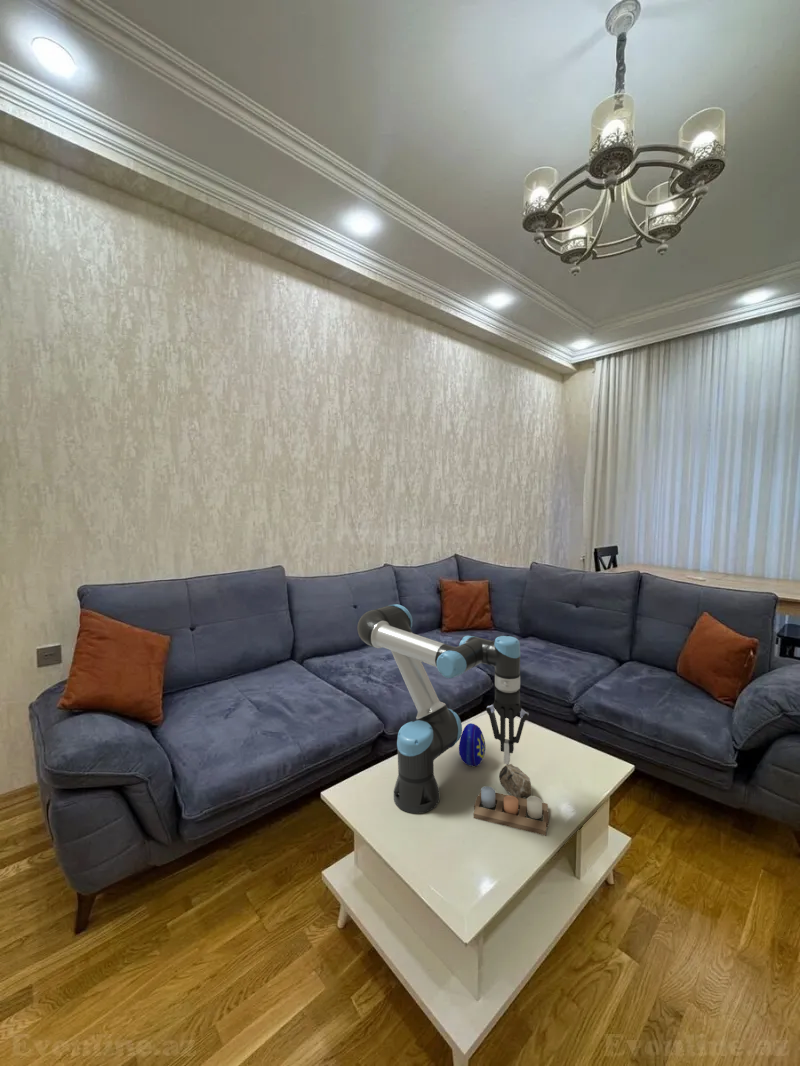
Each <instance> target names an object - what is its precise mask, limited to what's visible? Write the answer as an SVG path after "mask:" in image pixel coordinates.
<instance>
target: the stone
mask: <svg viewBox="0 0 800 1066" xmlns="http://www.w3.org/2000/svg"><path fill="white" fill-rule="evenodd" d="M499 783H500V785H501V786H502V788H504V790H505V791H506V792H507V793H508V794H509V795H511V796H515V797H519V798H524V799H527V798H528V797H530V796H532V794H533V792H532V785H531V784H532V783H531V779H530V777H529V776H528V775H527V774H526V772H523V770H521V769H520V768H519V767H518V766H515V765H513V764H512V763H509V765H508V764H505V765H504V766H503V767H502V768H501V770H500V772H499Z"/></svg>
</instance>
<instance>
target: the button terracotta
mask: <svg viewBox="0 0 800 1066" xmlns="http://www.w3.org/2000/svg"><path fill="white" fill-rule="evenodd" d="M507 795H508V796H505V797H504V808H503V812H504V813H508V814H512V815H517V816H519V809H518V799H517V798H516V797H514V796H512V794H507Z"/></svg>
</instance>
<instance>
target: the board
mask: <svg viewBox="0 0 800 1066" xmlns="http://www.w3.org/2000/svg"><path fill="white" fill-rule="evenodd" d="M508 795H509V794H505V793H501V792H500V793H499V792H496V791H495V809H492V808H487V807H482V804H481V790H480V791H479V794H478V795H477V796H476V798H475V802H474V805H473V809H474V811H473V819H476V820H480V821H484V822H488V823H492V824H495V825H500V826H504V827H508V828H512V829H517V830H522V831H525V832H529V833H532V834H537V835H541V836H547V828H549V821H550V820H549V819H550V818H549V817H550V811H549V810H548V809H549V805H548V804H549V803H547V802H542V820H538V819H534V818H531V817H529V818H528V817H527V815H528V814H527V798H519V797H516V798H517V799H518V816H517V815H512V814H508V813H504V797H505V796H508ZM514 797H515V796H514Z"/></svg>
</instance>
